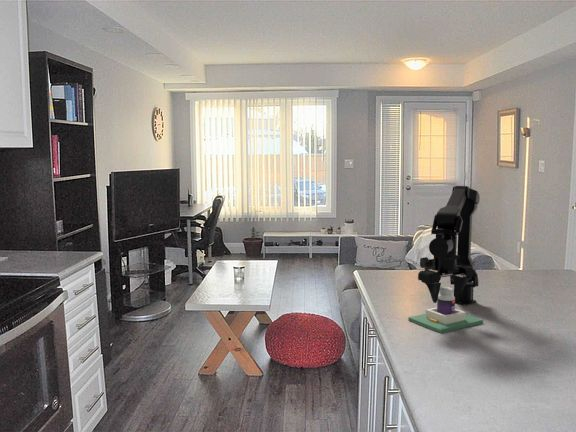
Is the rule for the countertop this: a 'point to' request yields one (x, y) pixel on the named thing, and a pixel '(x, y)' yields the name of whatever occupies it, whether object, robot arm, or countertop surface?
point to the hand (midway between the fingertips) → (445, 300)
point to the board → (444, 320)
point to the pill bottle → (446, 301)
